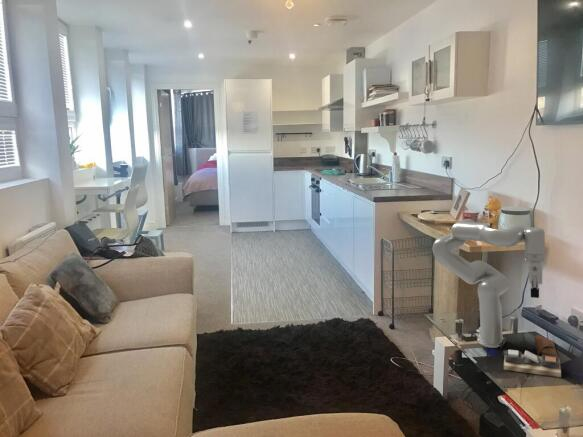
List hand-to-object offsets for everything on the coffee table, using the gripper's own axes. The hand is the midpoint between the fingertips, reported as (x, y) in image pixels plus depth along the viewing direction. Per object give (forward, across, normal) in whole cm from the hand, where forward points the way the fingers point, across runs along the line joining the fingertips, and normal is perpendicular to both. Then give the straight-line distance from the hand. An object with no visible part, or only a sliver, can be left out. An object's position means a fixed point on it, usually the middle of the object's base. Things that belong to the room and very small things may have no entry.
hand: (534, 296), depth 199 cm
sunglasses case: (+28, +6, -4) cm, 29 cm away
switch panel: (+27, -11, +1) cm, 29 cm away
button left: (+24, -11, +8) cm, 28 cm away
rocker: (+23, -11, +1) cm, 25 cm away
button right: (+25, -11, -6) cm, 28 cm away
